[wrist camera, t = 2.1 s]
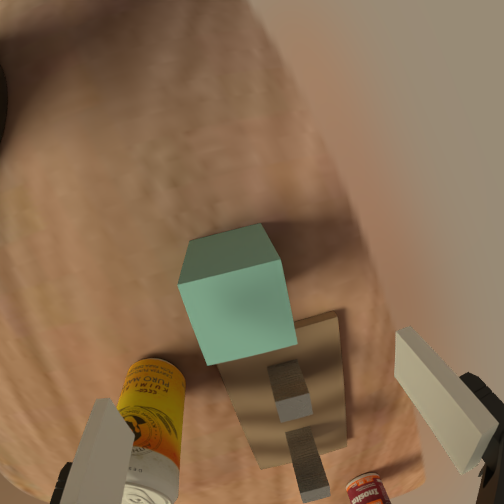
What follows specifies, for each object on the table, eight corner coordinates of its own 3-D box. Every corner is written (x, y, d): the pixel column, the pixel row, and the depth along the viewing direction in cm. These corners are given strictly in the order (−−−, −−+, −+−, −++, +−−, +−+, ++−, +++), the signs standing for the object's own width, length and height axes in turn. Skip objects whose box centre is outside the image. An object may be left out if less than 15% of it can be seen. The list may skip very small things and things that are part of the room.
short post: (266, 366, 30) (274, 402, 25) (296, 358, 30) (309, 392, 25) (272, 387, 31) (280, 422, 26) (301, 380, 31) (313, 414, 26)
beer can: (171, 347, 29) (151, 479, 15) (195, 391, 31) (191, 515, 17) (118, 360, 29) (78, 480, 15) (145, 401, 31) (123, 516, 17)
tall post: (284, 432, 33) (300, 493, 25) (309, 425, 33) (329, 485, 25) (288, 445, 34) (303, 503, 26) (312, 439, 34) (330, 496, 26)
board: (211, 342, 29) (211, 349, 28) (333, 310, 30) (337, 316, 29) (259, 463, 37) (260, 469, 36) (344, 440, 37) (347, 446, 36)
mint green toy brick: (189, 240, 26) (177, 285, 18) (260, 223, 26) (280, 259, 18) (209, 304, 28) (207, 365, 20) (275, 287, 28) (297, 344, 20)
